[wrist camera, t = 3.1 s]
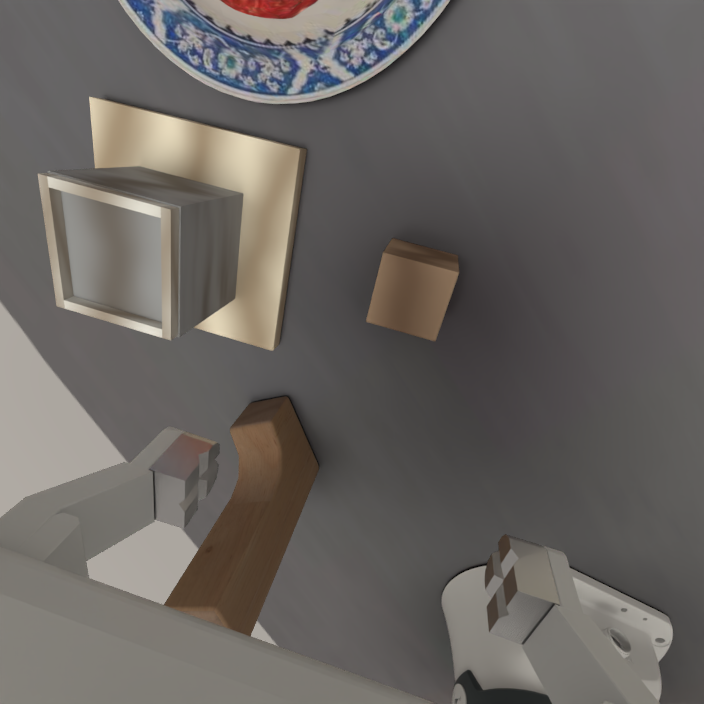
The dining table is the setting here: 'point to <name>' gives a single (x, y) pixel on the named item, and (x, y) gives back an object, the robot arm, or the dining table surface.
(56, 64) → the dining table surface
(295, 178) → the metal holder wooden base
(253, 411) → the wooden block
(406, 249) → the walnut cube
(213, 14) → the ceramic plate
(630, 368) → the dining table surface
